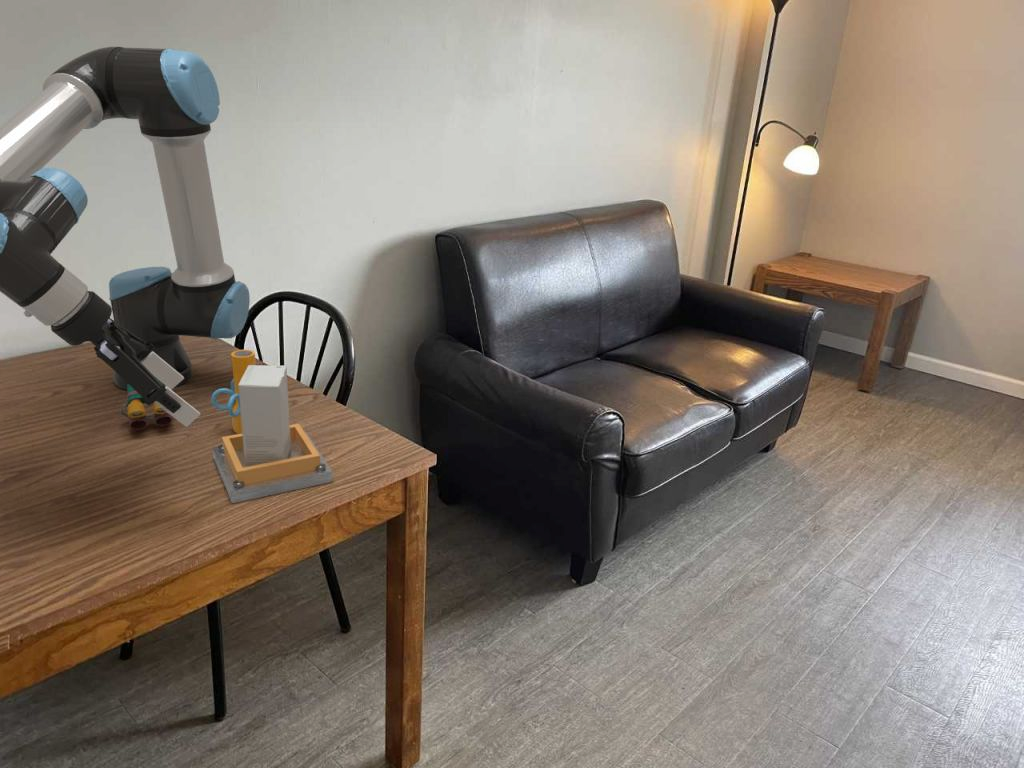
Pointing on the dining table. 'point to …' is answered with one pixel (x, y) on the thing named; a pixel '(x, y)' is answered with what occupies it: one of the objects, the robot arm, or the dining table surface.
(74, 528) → the dining table surface
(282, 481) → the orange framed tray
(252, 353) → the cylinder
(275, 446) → the skincare box
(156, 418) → the binoculars
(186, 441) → the dining table surface
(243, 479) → the frame
